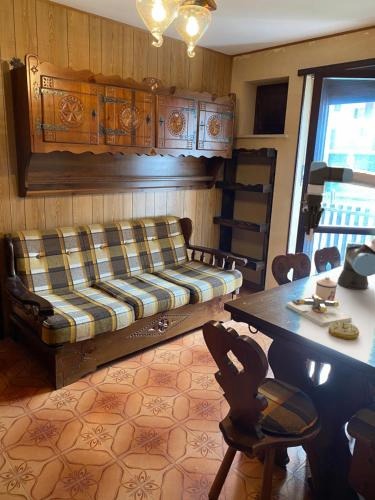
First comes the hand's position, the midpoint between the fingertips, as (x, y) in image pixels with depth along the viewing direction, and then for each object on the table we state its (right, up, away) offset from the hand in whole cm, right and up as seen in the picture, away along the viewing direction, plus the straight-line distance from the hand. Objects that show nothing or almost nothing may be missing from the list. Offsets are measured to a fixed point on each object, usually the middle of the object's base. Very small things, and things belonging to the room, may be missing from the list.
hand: (308, 241), depth 193 cm
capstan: (-4, -30, -27) cm, 40 cm away
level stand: (-5, -32, -26) cm, 41 cm away
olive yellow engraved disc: (-1, -37, -45) cm, 58 cm away
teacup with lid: (+4, -28, -10) cm, 31 cm away
